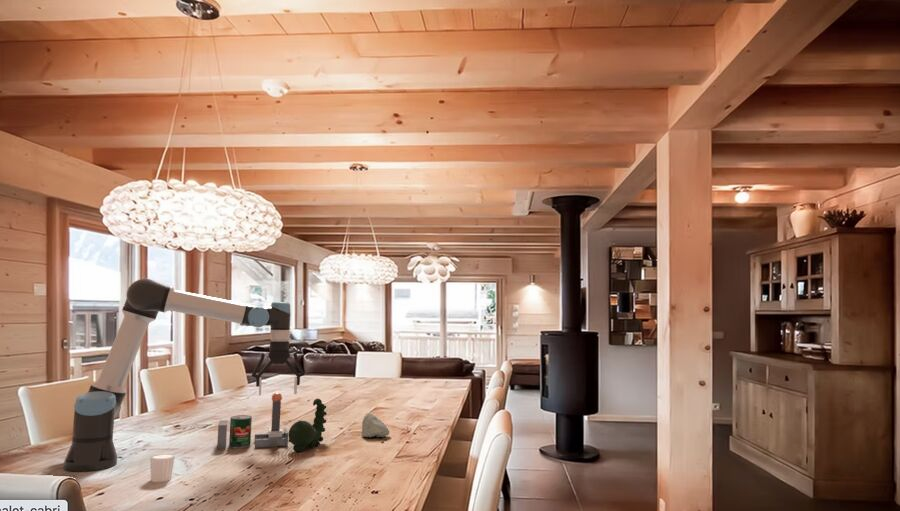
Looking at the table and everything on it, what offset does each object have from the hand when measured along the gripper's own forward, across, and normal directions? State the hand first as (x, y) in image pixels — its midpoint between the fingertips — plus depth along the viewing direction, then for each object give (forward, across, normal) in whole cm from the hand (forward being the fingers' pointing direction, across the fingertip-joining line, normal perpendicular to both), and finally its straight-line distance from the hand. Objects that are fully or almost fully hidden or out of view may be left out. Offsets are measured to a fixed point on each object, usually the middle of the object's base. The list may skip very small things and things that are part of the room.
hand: (277, 394), depth 231 cm
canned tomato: (+19, +14, 0) cm, 24 cm away
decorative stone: (+20, -40, -3) cm, 45 cm away
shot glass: (+19, +36, +41) cm, 58 cm away
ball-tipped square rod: (+19, 0, 0) cm, 19 cm away
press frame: (+19, +9, 0) cm, 21 cm away
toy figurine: (+20, -11, +10) cm, 25 cm away
